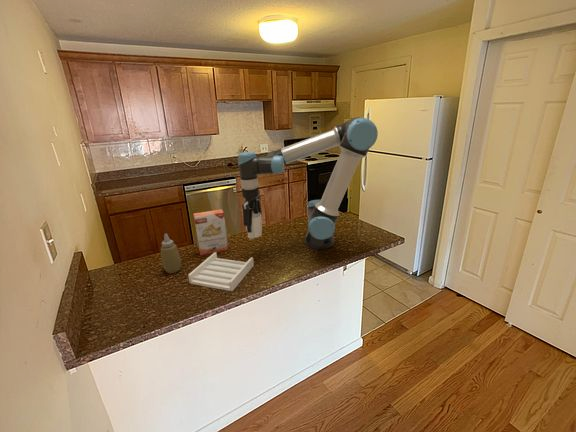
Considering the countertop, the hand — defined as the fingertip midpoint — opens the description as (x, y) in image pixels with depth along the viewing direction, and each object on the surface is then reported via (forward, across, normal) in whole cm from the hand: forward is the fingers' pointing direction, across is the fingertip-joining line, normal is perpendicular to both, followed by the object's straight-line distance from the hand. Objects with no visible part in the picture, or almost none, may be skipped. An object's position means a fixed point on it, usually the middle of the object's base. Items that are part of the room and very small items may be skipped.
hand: (254, 234), depth 132 cm
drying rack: (+11, +19, -8) cm, 23 cm away
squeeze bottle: (+11, +22, -32) cm, 40 cm away
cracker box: (+11, +1, -24) cm, 26 cm away
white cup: (0, 0, 0) cm, 0 cm away
